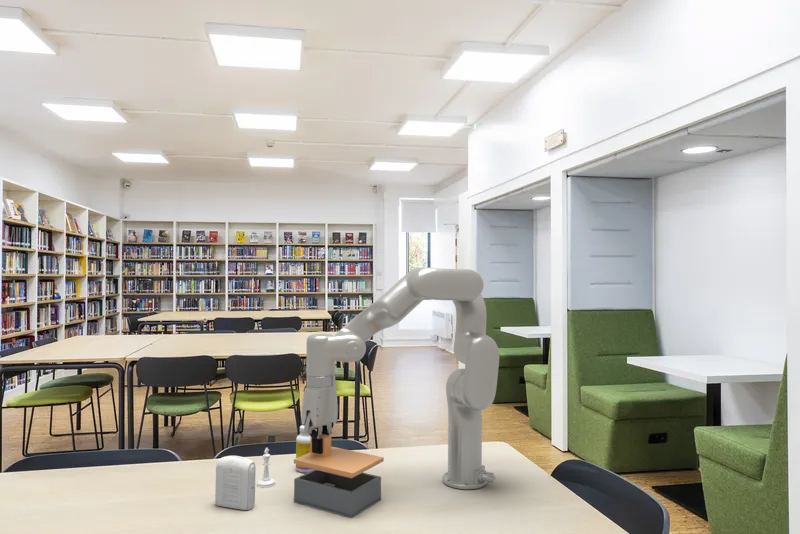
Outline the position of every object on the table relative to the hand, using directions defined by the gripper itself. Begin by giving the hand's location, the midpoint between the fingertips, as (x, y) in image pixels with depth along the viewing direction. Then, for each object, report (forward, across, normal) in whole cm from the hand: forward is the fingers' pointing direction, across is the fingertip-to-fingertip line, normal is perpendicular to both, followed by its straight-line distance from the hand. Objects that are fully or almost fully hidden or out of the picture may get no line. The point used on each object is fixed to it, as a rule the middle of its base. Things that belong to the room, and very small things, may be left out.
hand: (321, 450), depth 149 cm
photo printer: (+12, +16, -14) cm, 25 cm away
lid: (+2, 0, +6) cm, 6 cm away
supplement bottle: (+12, -14, -16) cm, 24 cm away
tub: (+12, 0, +6) cm, 13 cm away
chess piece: (+12, +1, -18) cm, 22 cm away
